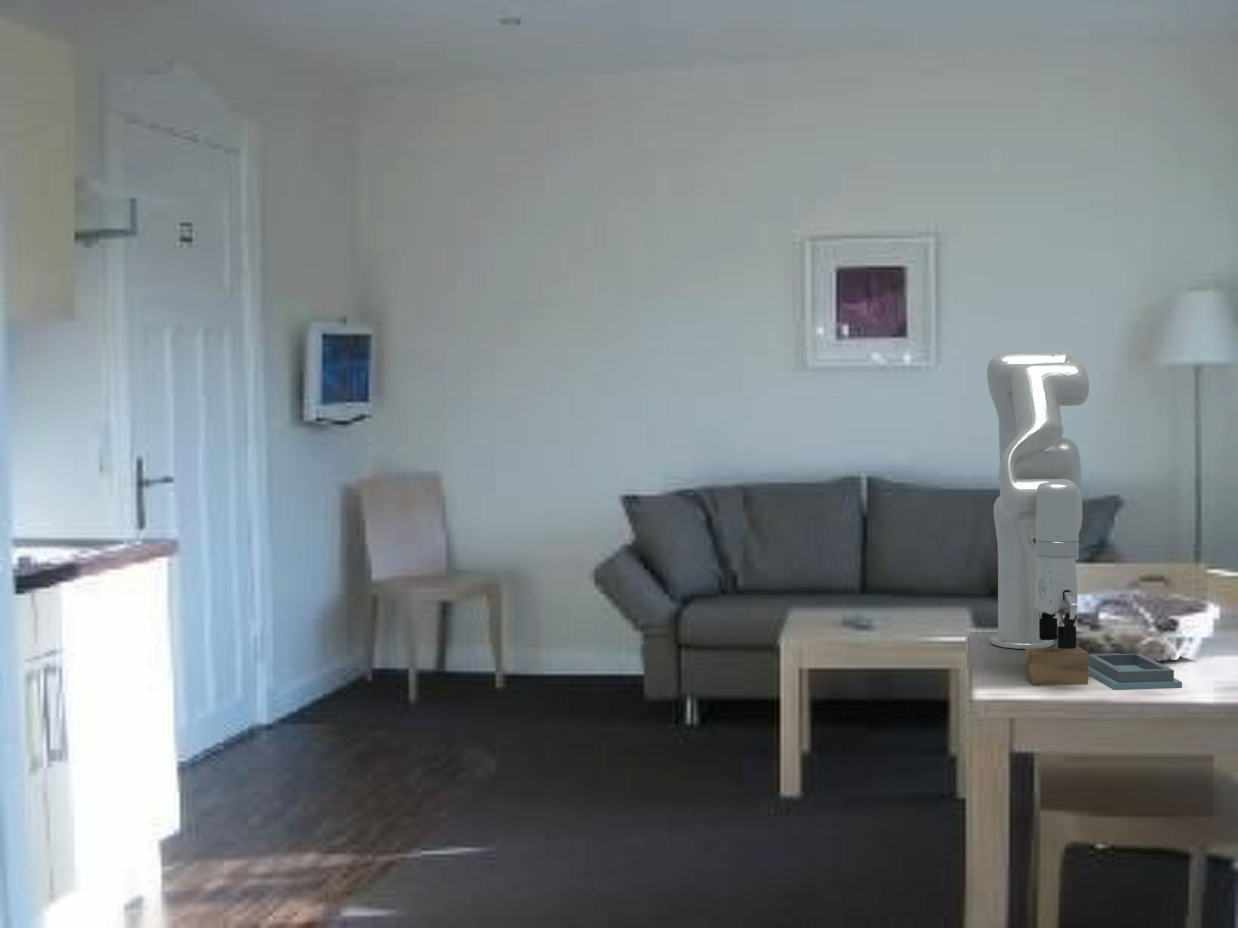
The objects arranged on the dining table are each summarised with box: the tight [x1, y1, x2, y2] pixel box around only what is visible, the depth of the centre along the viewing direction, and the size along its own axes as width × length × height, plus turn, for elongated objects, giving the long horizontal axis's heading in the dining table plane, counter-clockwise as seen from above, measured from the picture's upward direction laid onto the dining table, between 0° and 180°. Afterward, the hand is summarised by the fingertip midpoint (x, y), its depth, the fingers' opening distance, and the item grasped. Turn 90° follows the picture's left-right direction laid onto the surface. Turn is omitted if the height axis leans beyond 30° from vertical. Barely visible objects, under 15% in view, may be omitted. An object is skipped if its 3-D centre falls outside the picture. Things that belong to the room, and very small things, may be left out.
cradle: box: [1088, 653, 1183, 690], centre depth 275 cm, size 17×12×3 cm
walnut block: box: [1024, 646, 1089, 686], centre depth 274 cm, size 5×10×6 cm, turn 91°
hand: (1057, 643), depth 273 cm, fingers open, 9 cm apart
